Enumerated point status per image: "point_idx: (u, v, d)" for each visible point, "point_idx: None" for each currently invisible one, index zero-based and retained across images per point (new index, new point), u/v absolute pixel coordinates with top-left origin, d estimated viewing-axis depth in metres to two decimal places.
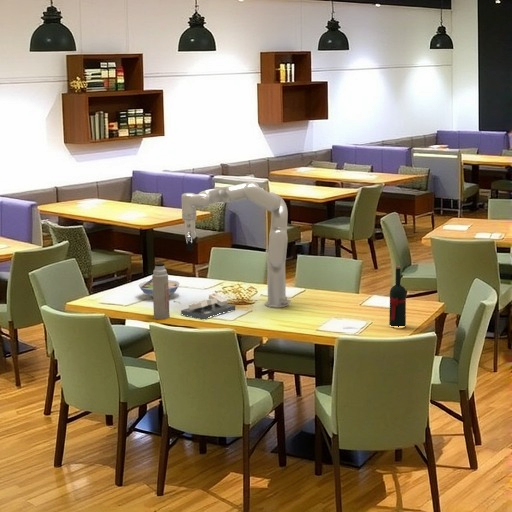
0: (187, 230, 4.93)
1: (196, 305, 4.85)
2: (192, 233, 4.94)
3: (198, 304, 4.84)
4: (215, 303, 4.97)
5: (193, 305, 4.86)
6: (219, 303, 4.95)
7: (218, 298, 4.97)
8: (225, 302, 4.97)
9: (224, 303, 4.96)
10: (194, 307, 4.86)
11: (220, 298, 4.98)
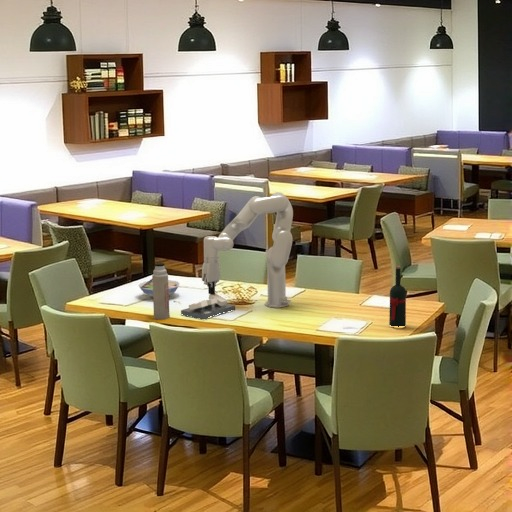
0: None
1: (196, 305, 4.85)
2: None
3: (198, 304, 4.84)
4: (215, 303, 4.97)
5: (193, 305, 4.86)
6: (219, 303, 4.95)
7: (218, 298, 4.97)
8: (225, 302, 4.97)
9: (224, 303, 4.96)
10: (194, 307, 4.86)
11: (220, 298, 4.98)
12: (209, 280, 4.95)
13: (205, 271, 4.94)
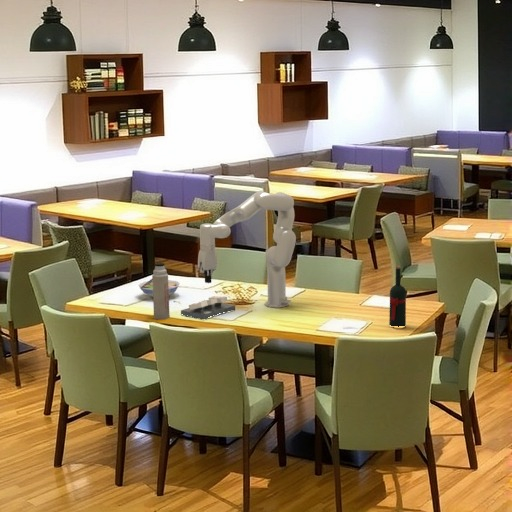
0: None
1: (196, 305, 4.85)
2: None
3: (198, 304, 4.84)
4: (215, 303, 4.97)
5: (193, 305, 4.86)
6: (219, 300, 4.95)
7: (217, 297, 4.97)
8: (225, 299, 4.96)
9: (224, 300, 4.96)
10: (194, 307, 4.86)
11: (219, 297, 4.98)
12: (205, 268, 4.87)
13: (201, 259, 4.87)
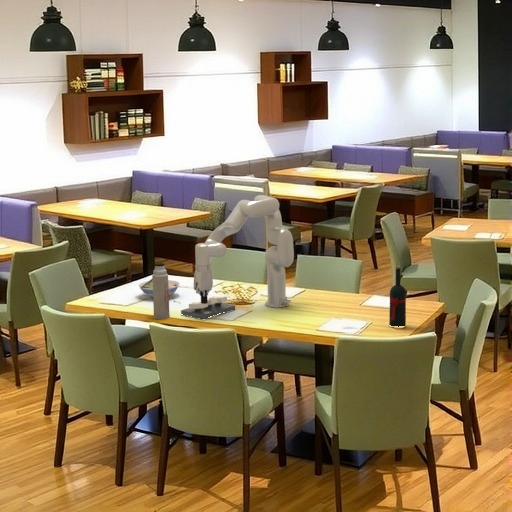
0: None
1: (196, 305, 4.85)
2: None
3: (198, 305, 4.84)
4: (215, 303, 4.97)
5: (193, 305, 4.86)
6: (219, 300, 4.95)
7: (217, 297, 4.97)
8: (225, 298, 4.96)
9: (224, 300, 4.96)
10: (194, 307, 4.86)
11: (219, 297, 4.98)
12: (201, 289, 4.78)
13: (197, 279, 4.77)
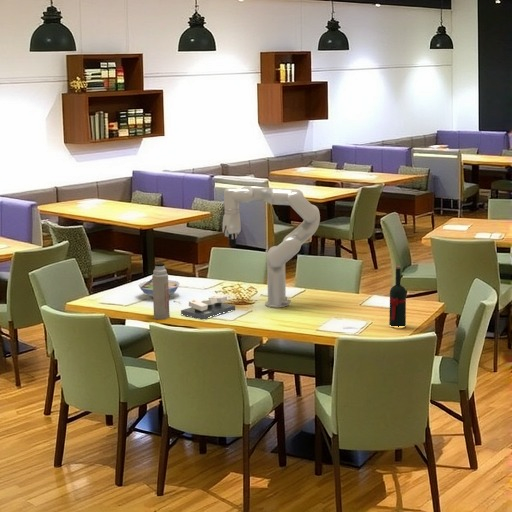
0: None
1: (196, 306, 4.85)
2: None
3: (199, 306, 4.84)
4: (215, 303, 4.97)
5: (193, 304, 4.86)
6: (219, 300, 4.95)
7: (217, 297, 4.97)
8: (225, 298, 4.96)
9: (224, 300, 4.96)
10: (194, 306, 4.86)
11: (219, 297, 4.98)
12: (230, 232, 4.95)
13: (226, 223, 4.95)
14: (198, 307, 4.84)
